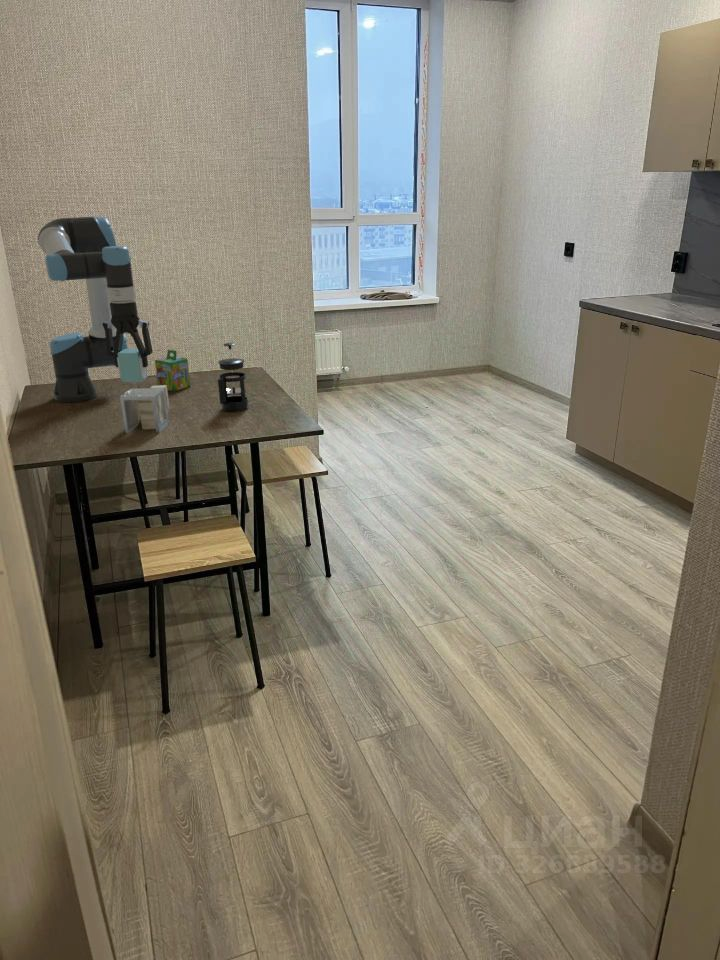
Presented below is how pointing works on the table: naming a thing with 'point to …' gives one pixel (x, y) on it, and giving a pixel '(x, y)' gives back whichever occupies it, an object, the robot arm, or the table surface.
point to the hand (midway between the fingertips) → (133, 377)
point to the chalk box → (173, 372)
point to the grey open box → (131, 409)
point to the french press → (233, 401)
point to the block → (130, 365)
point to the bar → (147, 410)
